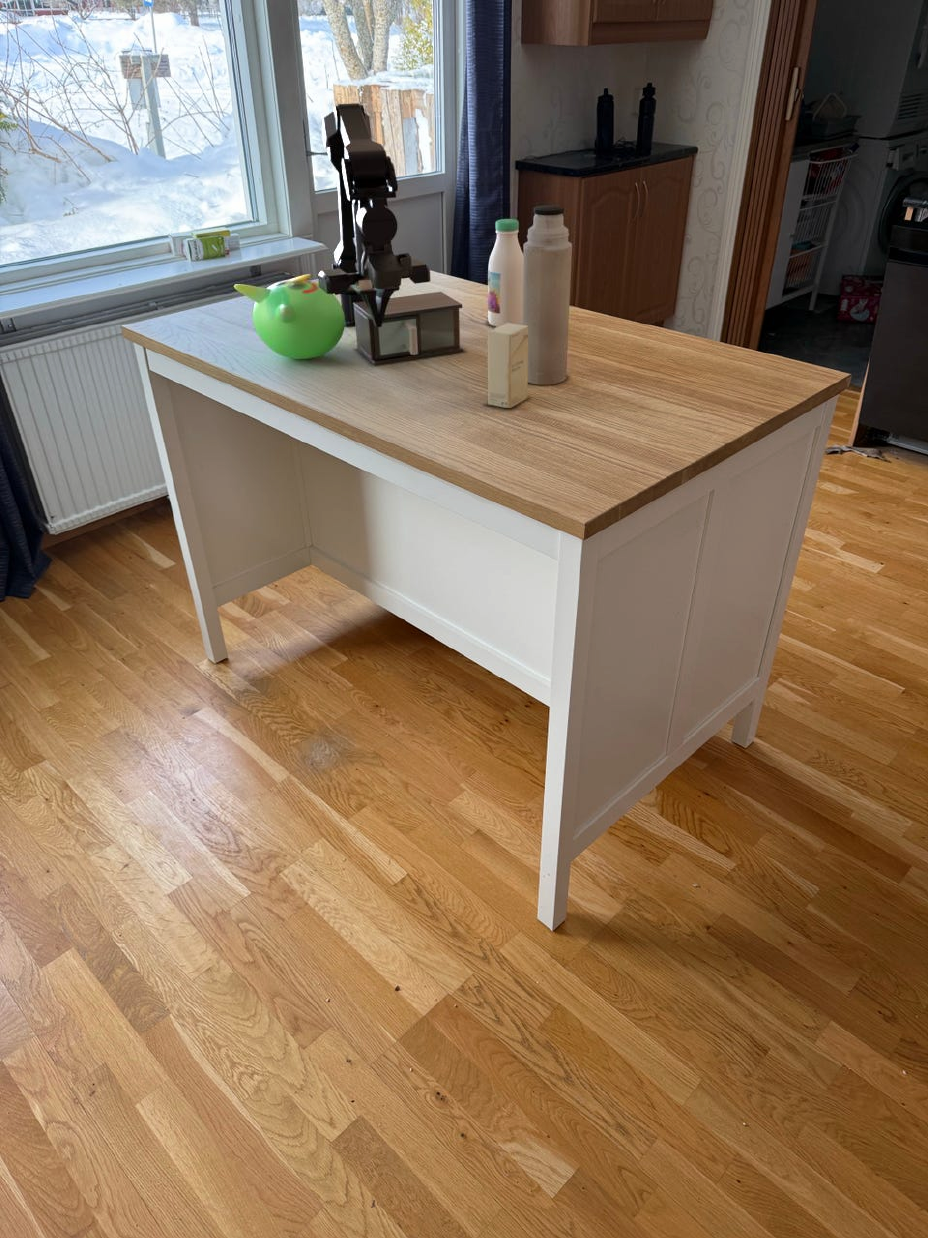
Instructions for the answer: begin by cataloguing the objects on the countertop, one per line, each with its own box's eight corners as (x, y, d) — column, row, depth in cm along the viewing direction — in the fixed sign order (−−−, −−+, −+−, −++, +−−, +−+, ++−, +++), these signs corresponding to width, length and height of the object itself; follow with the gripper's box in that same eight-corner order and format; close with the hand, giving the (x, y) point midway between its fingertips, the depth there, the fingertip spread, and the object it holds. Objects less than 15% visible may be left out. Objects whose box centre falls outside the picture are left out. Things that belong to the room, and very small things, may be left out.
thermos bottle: (528, 368, 164) (531, 201, 148) (570, 372, 161) (578, 203, 146) (516, 382, 157) (518, 209, 142) (560, 386, 155) (567, 211, 139)
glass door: (375, 358, 167) (372, 320, 163) (420, 351, 170) (418, 313, 166) (385, 366, 163) (382, 327, 159) (431, 359, 166) (429, 321, 162)
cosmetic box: (510, 409, 146) (510, 334, 140) (486, 405, 148) (486, 331, 142) (528, 397, 151) (529, 324, 144) (505, 393, 153) (505, 321, 146)
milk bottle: (525, 317, 191) (527, 216, 180) (524, 328, 185) (525, 224, 174) (489, 317, 192) (489, 216, 181) (486, 327, 185) (486, 224, 174)
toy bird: (365, 355, 172) (358, 275, 164) (295, 377, 162) (284, 293, 154) (306, 337, 182) (297, 261, 174) (237, 357, 172) (224, 278, 164)
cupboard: (357, 350, 175) (353, 302, 170) (442, 337, 180) (441, 291, 175) (374, 365, 167) (371, 316, 162) (463, 352, 172) (462, 304, 167)
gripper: (331, 247, 141) (341, 346, 150) (440, 236, 147) (443, 331, 156) (312, 235, 150) (322, 329, 159) (416, 224, 156) (420, 315, 165)
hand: (378, 326), depth 159 cm, fingers closed
